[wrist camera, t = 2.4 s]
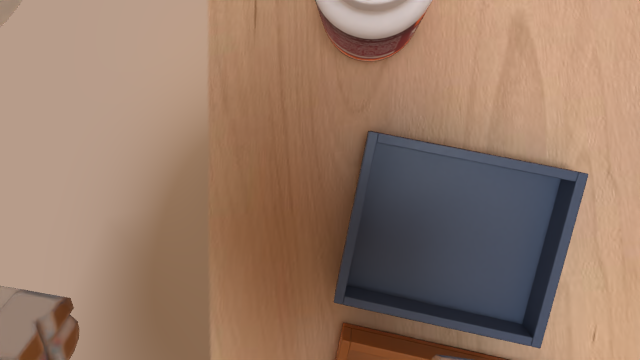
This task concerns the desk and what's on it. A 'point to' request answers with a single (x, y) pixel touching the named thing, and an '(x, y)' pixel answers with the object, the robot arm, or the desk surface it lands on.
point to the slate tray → (458, 238)
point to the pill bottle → (371, 25)
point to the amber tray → (393, 347)
